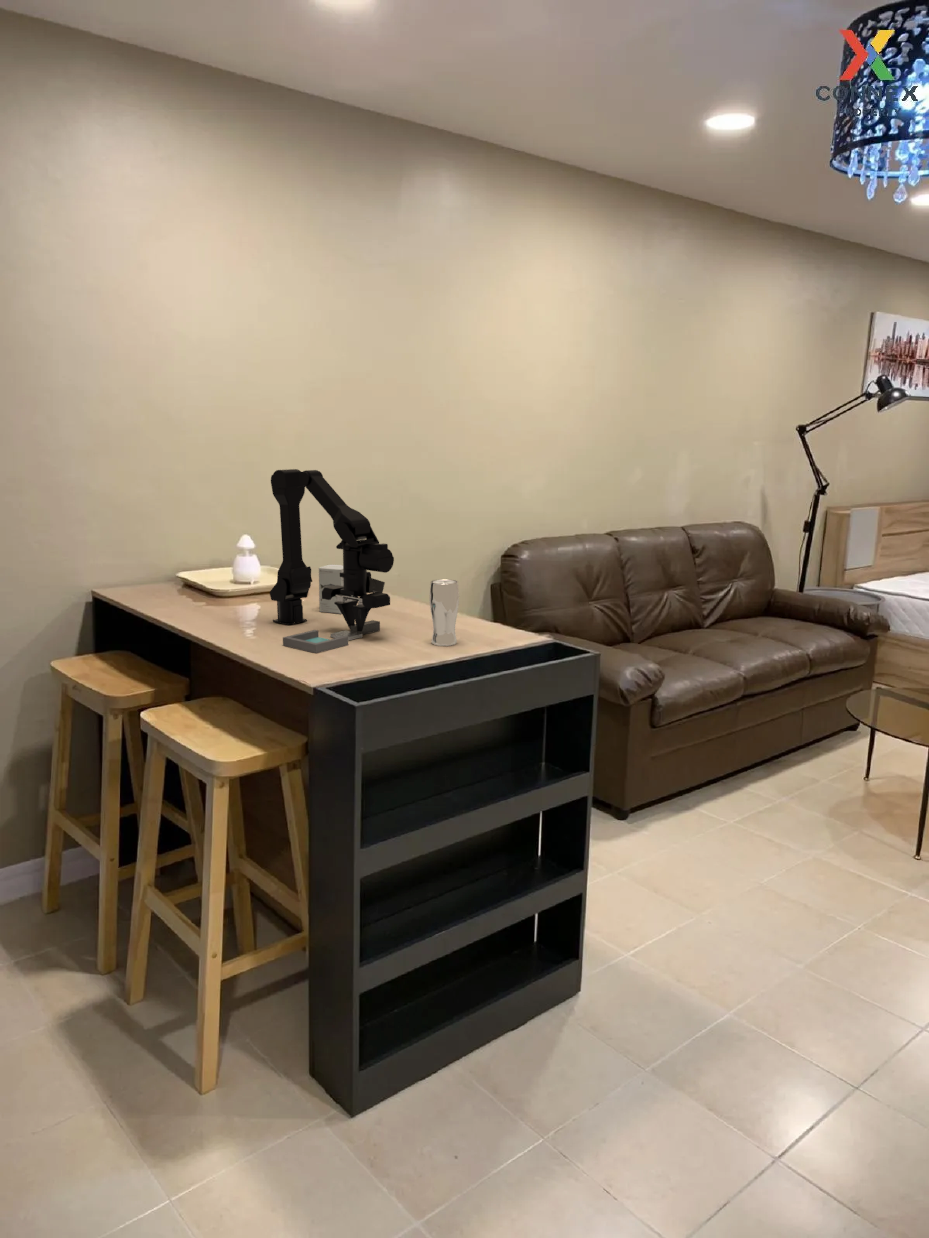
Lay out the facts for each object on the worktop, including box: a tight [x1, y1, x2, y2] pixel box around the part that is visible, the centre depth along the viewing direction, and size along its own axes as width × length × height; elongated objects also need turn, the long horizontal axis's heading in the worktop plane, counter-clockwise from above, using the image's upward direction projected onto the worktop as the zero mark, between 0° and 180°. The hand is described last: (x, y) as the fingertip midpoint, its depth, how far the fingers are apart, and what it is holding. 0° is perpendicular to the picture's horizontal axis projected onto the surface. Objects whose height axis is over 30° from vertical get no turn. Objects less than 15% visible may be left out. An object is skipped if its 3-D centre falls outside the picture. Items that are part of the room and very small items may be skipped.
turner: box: [330, 619, 381, 641], centre depth 223 cm, size 13×6×2 cm, turn 141°
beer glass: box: [429, 578, 460, 647], centre depth 214 cm, size 7×7×15 cm
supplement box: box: [318, 564, 352, 615], centre depth 250 cm, size 7×7×13 cm
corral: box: [282, 629, 349, 654], centre depth 212 cm, size 11×10×2 cm
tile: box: [305, 636, 331, 643], centre depth 213 cm, size 5×5×2 cm
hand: (356, 630), depth 223 cm, fingers closed on turner, 2 cm apart
